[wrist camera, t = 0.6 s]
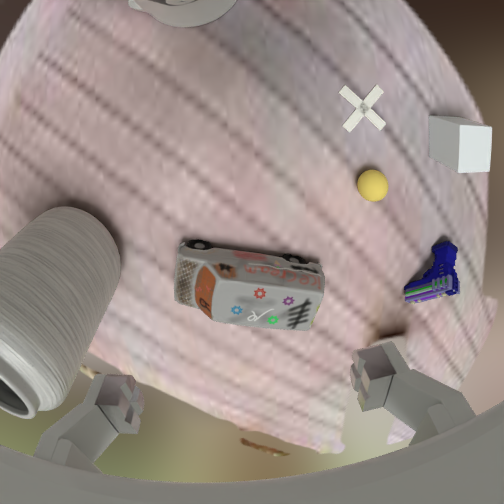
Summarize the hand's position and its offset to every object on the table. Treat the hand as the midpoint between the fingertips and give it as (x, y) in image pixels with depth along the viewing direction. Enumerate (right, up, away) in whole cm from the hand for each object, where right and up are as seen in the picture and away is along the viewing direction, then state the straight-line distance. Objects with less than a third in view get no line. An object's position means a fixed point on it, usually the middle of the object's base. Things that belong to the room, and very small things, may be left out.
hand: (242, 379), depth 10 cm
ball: (+19, +15, +34) cm, 42 cm away
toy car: (0, +1, +45) cm, 45 cm away
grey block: (+34, +24, +31) cm, 52 cm away
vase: (-32, +6, +41) cm, 52 cm away
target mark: (+17, +26, +30) cm, 43 cm away
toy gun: (+36, +2, +45) cm, 58 cm away
